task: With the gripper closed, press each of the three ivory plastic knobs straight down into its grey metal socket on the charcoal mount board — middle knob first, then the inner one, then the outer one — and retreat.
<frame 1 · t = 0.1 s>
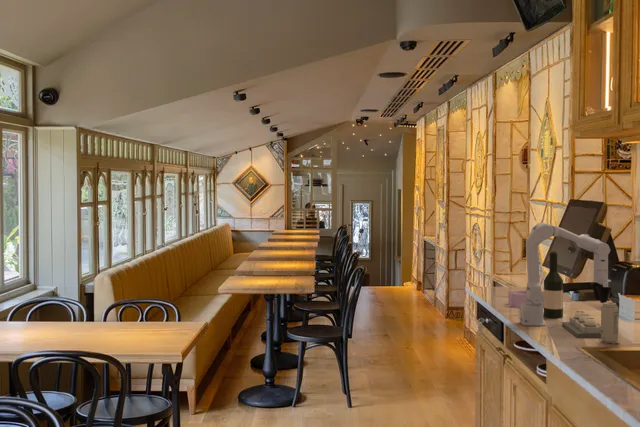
hand: (600, 301, 287), 10 cm above the counter, tool pointing down, fingers open, 7 cm apart
wine bottle: (553, 317, 305), on the counter
knob 3: (589, 321, 268), point 6 cm above the counter, slide at 0.0 cm
mount board: (584, 331, 275), on the counter
knob 2: (584, 318, 275), point 6 cm above the counter, slide at 0.0 cm
knob 1: (579, 314, 282), point 6 cm above the counter, slide at 0.0 cm
clip: (529, 306, 332), on the counter
energy drink can: (609, 342, 257), on the counter
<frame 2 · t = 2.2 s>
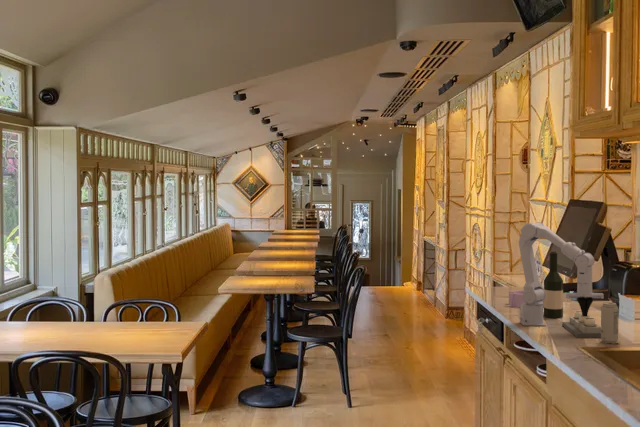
hand: (584, 315, 275), 7 cm above the counter, tool pointing down, fingers closed, pressing on knob 2
knob 2: (584, 318, 275), point 5 cm above the counter, slide at 0.3 cm, touching gripper
everything else where it was.
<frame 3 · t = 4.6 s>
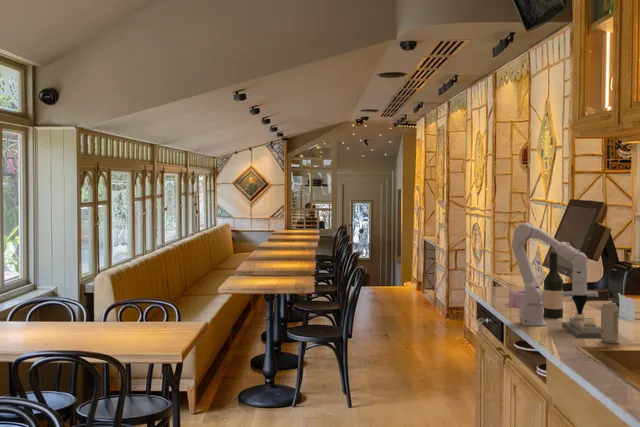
hand: (579, 313, 282), 6 cm above the counter, tool pointing down, fingers closed, pressing on knob 1
knob 2: (584, 324, 275), point 3 cm above the counter, slide at 2.4 cm
knob 1: (579, 316, 282), point 5 cm above the counter, slide at 0.8 cm, touching gripper
everything else where it was.
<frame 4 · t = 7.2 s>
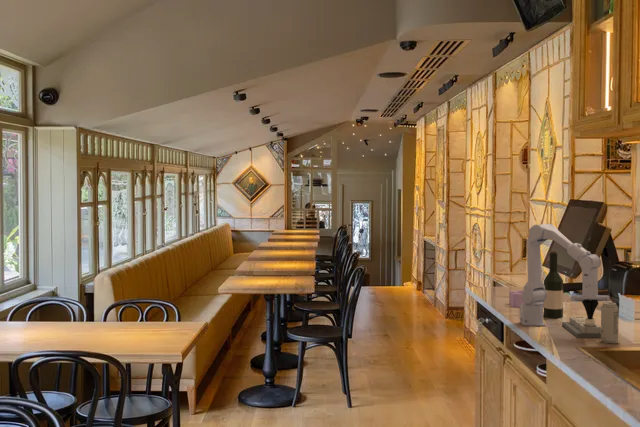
hand: (590, 318, 268), 7 cm above the counter, tool pointing down, fingers closed, pressing on knob 3
knob 3: (589, 321, 268), point 5 cm above the counter, slide at 0.1 cm, touching gripper
knob 1: (579, 320, 282), point 3 cm above the counter, slide at 2.5 cm
everything else where it was.
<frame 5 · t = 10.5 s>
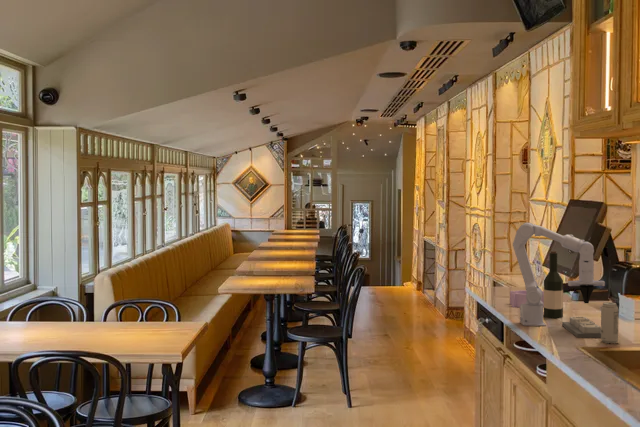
hand: (586, 302, 282), 10 cm above the counter, tool pointing down, fingers closed
knob 3: (589, 327, 268), point 3 cm above the counter, slide at 2.4 cm
at the end: knob 1 slide at 2.5 cm; knob 2 slide at 2.4 cm; knob 3 slide at 2.4 cm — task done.
